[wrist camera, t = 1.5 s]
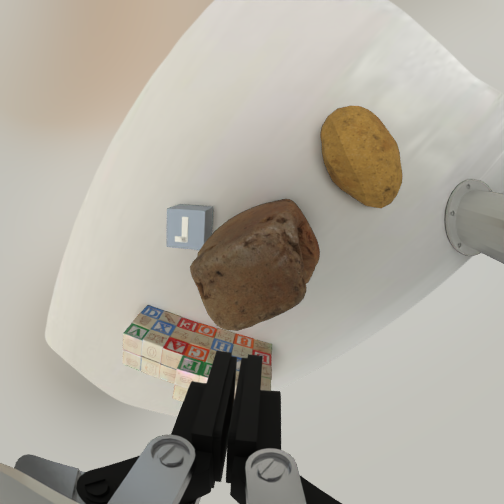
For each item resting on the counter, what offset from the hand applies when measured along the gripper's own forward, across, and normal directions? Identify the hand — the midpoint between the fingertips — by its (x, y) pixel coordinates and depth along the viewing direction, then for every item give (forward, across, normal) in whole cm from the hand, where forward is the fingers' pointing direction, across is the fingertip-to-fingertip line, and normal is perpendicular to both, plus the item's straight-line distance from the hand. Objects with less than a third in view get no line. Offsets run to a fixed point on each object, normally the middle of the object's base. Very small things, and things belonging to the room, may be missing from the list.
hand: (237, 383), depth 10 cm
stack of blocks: (+31, +8, +19) cm, 37 cm away
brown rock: (+31, 0, 0) cm, 31 cm away
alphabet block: (+31, +10, 0) cm, 32 cm away
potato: (+31, -11, -11) cm, 35 cm away
